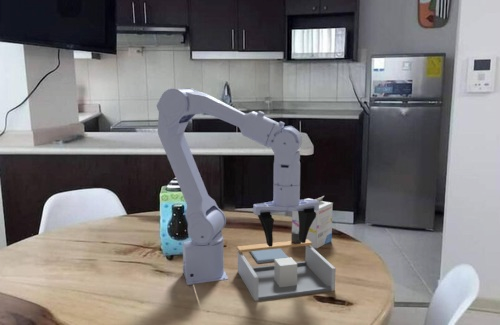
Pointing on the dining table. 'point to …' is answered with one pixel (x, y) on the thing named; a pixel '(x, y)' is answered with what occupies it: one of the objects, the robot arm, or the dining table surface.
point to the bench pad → (268, 255)
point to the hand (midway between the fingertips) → (286, 243)
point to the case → (308, 277)
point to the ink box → (317, 224)
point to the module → (285, 272)
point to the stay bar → (276, 244)
